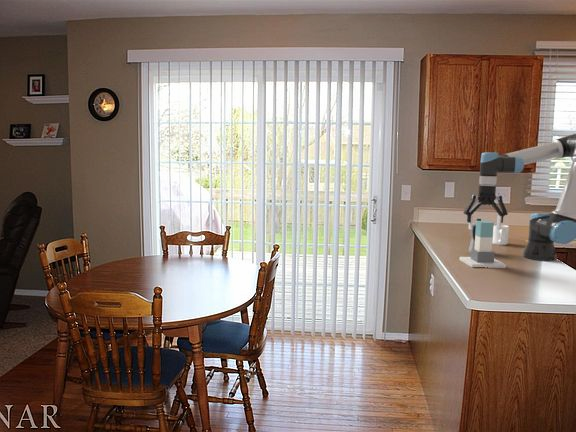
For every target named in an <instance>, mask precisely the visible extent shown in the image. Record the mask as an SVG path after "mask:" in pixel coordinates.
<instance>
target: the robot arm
mask: <svg viewBox="0 0 576 432" xmlns="http://www.w3.org/2000/svg"><path fill="white" fill-rule="evenodd" d="M553 158H556V159H563V158H570V160H571V161H572V162H571V163H572V164H571V166H570V168H569V172H568V174H567V177H566V180H565V182H564V186H563V188H562V191H561V193H560V197H559V200H558V201H557V202H558V203H557V204H556V208H555V209H554V210H552V211H550V213H531V215H530V218H529V227H528V230H529V231H528V239H527V240H528V241H527V243H526V246H525V248H524V250H523V255H522V256H523V257H524V258H526V259H529V260H535V261H549V260H552V261H556V260H557V252H556V248H555V244H561V245H568V244H570V243H572V242H573V241H574V240H575V239H576V133H572V134H569V135H566V136H563V137H560V138H555V139H552V141H551V142H549V143H545V144H541V145H537V146H532V147H528V148H525V149H520V150H516V151H513V152H508V153H504V154H500V155H499V152H494V151H493V152H482V153H481V156H480V167H479V180H478V184H479V185H478V194H477V195H476V194H475V195H474V194H472V195H471V197H470V200H469V202H468V204H467V206H466V207H465V209H464V211H463V214H464V215H466V217H467V219H466V222H467V223H468V230H470V231H471V230H472V224H474V222H473V220H474V213H475V212H476V211H478V209H479V208H480V207H481V206H483V205H484V206H485V205H489V206H492V208H493V209H494V210H495V212H496V213H497V214H498V215H497V216H496V217H497V219H496V225H497V230H501V225H502V224H504V223H503V222H504V217H505V216H508V214H509V213H508V211H507V209H506V206H505V204H504V201H503V196H502V195H500V194H498V195H496V192H497V186H496V185H497V177H498V173H499V174H500V173H503V174H507V173H508V174H516V173H517V174H519V173H521V172H522V171H523V170H524V168H525V166H526V165H529V164H532V163H537V162H540V161H546V160H550V159H553ZM476 200H477V201H476ZM495 200H496V201H497V203H498V204H497V203H496V202H495ZM475 202H476V204H474V203H475ZM498 205H499V206H498Z"/></svg>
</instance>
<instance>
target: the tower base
mask: <svg viewBox="0 0 576 432" xmlns="http://www.w3.org/2000/svg"><path fill="white" fill-rule="evenodd" d="M495 254H496V252H494V251H493V250H492V252H479V251H477V250H475V249H471V252H470V256H459V261H460V262H462V263H464V264H466V265H467V266H468V267H470V268H472V267H485V268H484V269H486V268H487V267H488V268H489V269H490V268H491V269H493V268H494V269H495V268H497V269H506V268H507V264H505V263H504V262H502V261H500V260H497V259H496V258H495ZM488 268H487V269H488Z"/></svg>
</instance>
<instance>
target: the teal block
mask: <svg viewBox="0 0 576 432" xmlns="http://www.w3.org/2000/svg"><path fill="white" fill-rule="evenodd" d="M475 223H476V231H475V235H476V236H479V237H493V228H494V225H495V223H494V222H493V221H491V220H481V221H477V220H476V221H475Z"/></svg>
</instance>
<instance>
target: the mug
mask: <svg viewBox="0 0 576 432" xmlns="http://www.w3.org/2000/svg"><path fill="white" fill-rule="evenodd" d="M509 228H510V226H509V225H505V224H501V230H497V224H494V228H493V243H492V245H497V246H506V245H508V240H509V230H510V229H509Z"/></svg>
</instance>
